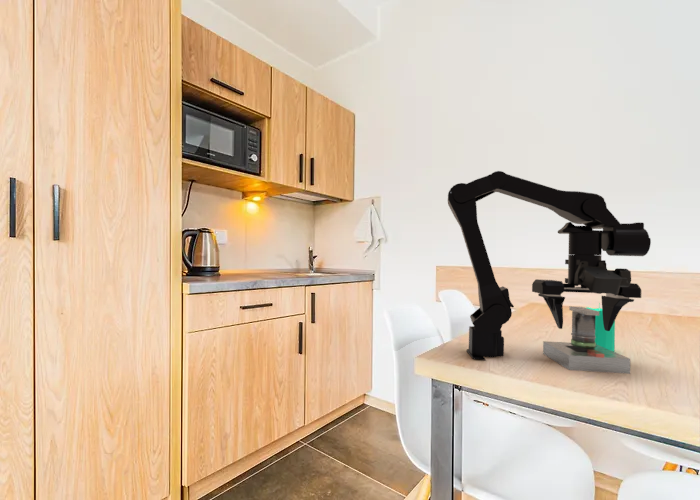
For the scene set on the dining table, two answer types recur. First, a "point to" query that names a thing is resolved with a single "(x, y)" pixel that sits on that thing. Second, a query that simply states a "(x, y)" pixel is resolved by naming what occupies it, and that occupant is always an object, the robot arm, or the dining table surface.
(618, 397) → the dining table surface
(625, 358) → the flat box
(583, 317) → the column
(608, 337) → the candle
